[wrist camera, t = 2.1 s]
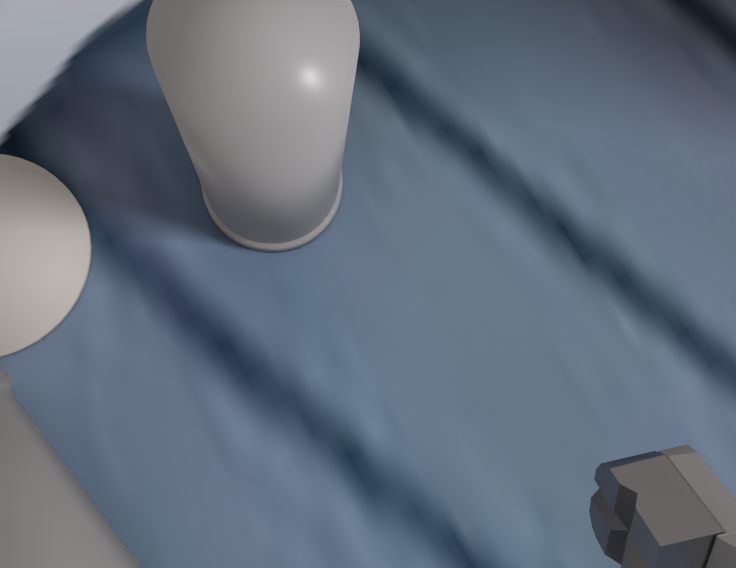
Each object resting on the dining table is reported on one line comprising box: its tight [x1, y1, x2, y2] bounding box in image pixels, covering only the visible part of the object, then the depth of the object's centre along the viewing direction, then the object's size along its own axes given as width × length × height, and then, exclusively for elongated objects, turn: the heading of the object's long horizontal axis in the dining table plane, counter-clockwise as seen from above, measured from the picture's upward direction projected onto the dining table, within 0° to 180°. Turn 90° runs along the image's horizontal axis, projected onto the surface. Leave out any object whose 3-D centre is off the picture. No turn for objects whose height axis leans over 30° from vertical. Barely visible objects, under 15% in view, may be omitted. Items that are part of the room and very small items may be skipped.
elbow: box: [146, 0, 360, 253], centre depth 22 cm, size 8×6×11 cm
